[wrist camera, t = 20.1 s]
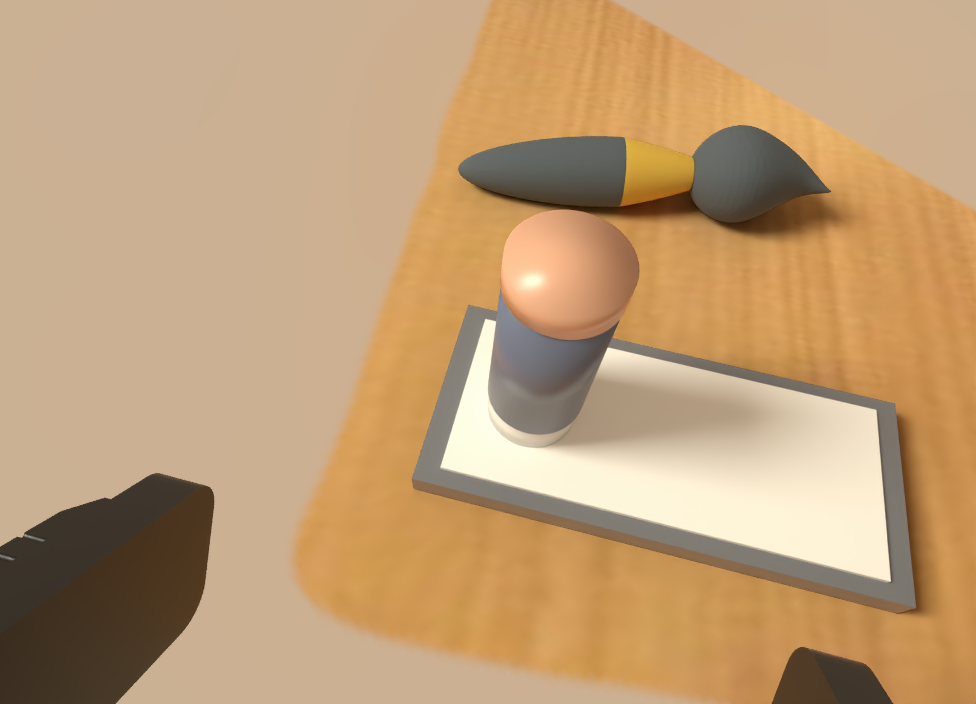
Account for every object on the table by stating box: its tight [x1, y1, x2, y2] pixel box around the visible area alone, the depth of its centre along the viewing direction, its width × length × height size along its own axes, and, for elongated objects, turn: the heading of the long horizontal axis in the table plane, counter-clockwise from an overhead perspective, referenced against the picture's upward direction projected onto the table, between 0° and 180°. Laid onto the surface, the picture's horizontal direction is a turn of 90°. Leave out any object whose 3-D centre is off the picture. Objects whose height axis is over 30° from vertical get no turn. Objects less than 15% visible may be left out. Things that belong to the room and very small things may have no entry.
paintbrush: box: [458, 125, 831, 223], centre depth 34 cm, size 20×5×5 cm, turn 91°
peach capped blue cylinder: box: [488, 210, 639, 448], centre depth 23 cm, size 4×4×10 cm
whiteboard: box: [412, 305, 916, 613], centre depth 28 cm, size 20×9×1 cm, turn 76°
